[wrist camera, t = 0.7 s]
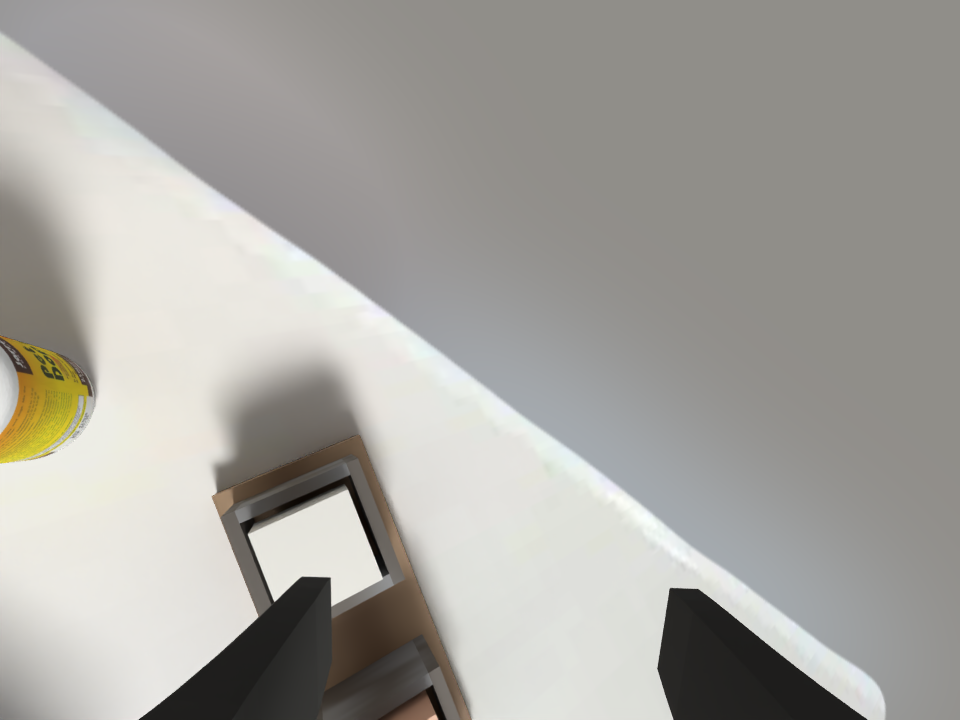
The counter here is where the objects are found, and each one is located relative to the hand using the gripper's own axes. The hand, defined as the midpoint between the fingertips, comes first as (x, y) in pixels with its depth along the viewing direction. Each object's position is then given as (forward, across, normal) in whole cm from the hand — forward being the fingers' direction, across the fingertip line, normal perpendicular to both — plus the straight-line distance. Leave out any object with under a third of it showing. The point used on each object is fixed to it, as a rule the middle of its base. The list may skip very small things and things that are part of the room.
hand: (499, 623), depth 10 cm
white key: (+13, +8, +7) cm, 16 cm away
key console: (+16, +7, +13) cm, 21 cm away
